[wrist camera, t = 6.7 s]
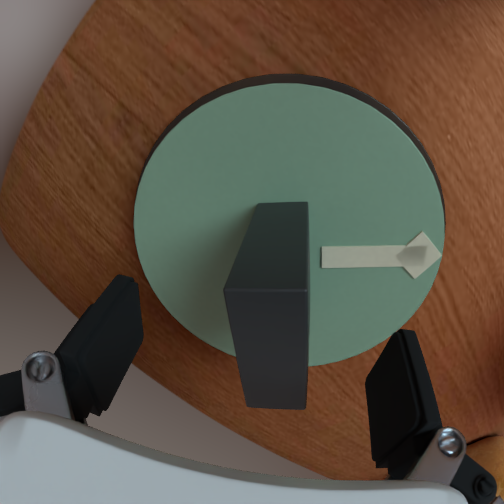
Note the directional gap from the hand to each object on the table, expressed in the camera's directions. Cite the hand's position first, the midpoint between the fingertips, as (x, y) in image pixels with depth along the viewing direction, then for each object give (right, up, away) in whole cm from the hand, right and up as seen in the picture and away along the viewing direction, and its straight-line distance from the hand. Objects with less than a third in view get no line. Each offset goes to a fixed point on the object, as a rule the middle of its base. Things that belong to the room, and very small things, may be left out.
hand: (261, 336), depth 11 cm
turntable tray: (+2, +3, +6) cm, 7 cm away
